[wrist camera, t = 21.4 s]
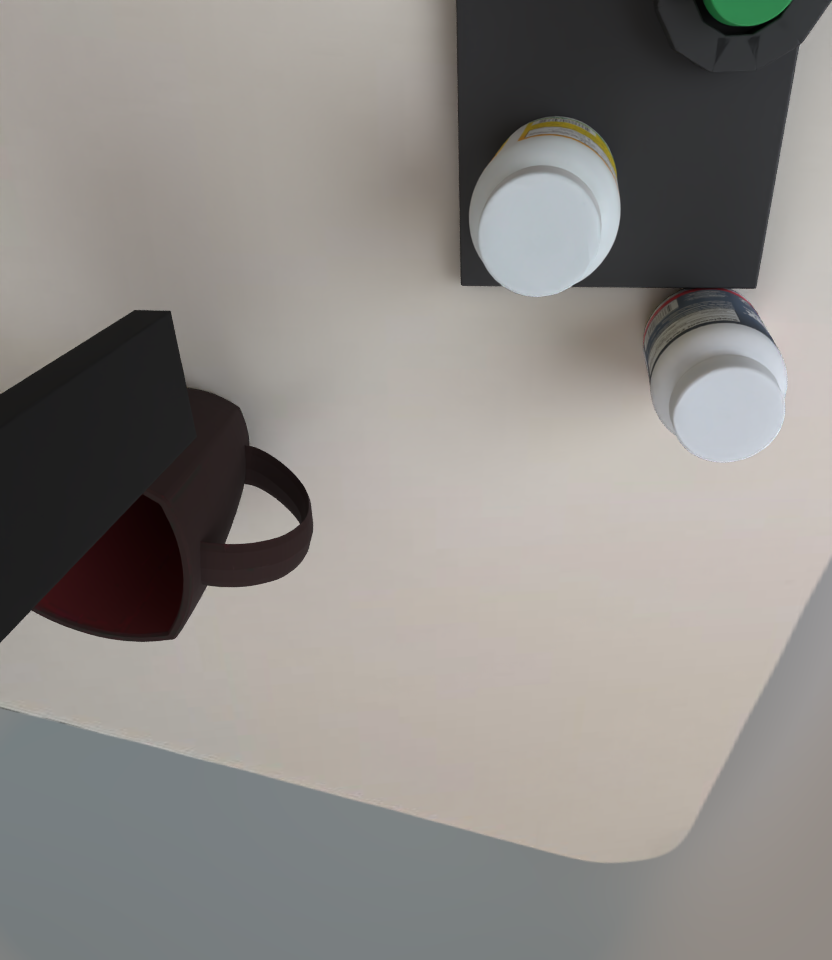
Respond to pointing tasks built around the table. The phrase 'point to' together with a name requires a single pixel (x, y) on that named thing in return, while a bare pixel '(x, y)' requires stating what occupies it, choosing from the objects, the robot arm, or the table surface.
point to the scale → (640, 122)
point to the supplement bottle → (546, 207)
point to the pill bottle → (715, 374)
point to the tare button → (745, 11)
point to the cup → (182, 537)
